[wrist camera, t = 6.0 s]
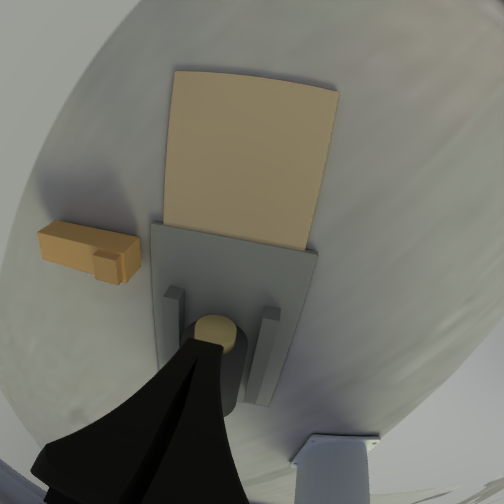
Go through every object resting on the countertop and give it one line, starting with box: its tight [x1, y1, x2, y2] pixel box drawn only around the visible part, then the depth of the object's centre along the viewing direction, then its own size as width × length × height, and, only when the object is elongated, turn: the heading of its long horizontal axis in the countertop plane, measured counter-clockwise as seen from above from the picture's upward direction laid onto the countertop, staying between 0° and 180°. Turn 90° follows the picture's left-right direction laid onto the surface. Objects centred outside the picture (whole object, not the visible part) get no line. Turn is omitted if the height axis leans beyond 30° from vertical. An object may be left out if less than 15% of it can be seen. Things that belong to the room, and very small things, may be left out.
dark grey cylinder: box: [181, 315, 248, 417], centre depth 18 cm, size 7×4×4 cm, turn 172°
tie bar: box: [37, 220, 141, 285], centre depth 16 cm, size 2×7×3 cm, turn 82°
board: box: [151, 71, 339, 407], centre depth 17 cm, size 24×10×2 cm, turn 172°
